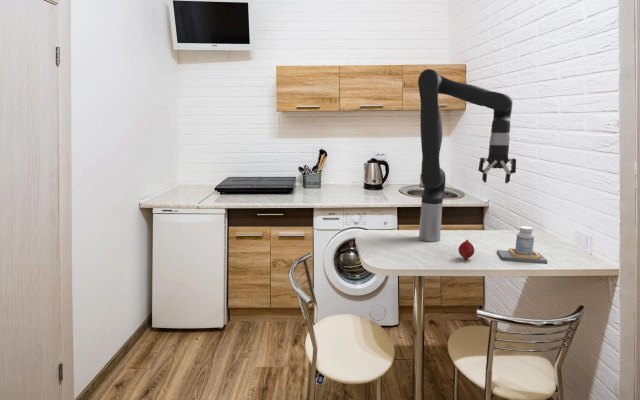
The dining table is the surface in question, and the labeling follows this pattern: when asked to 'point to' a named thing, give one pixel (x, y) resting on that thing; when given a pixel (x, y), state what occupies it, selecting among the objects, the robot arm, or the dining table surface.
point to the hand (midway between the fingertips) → (495, 182)
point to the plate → (521, 256)
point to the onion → (466, 249)
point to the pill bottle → (524, 241)
